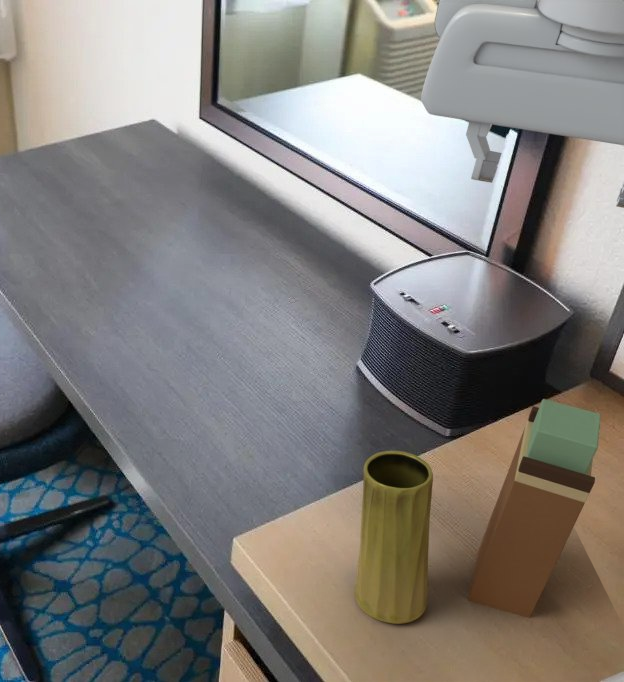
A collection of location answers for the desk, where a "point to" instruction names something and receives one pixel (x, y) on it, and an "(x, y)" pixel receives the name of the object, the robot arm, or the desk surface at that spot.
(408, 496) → the vase
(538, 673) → the desk surface
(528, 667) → the desk surface
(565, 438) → the green pad
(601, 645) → the desk surface
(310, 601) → the desk surface
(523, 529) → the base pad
